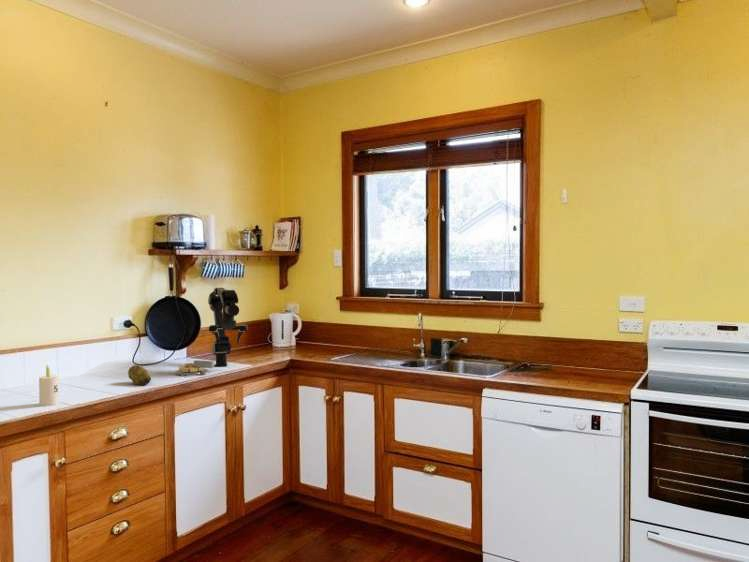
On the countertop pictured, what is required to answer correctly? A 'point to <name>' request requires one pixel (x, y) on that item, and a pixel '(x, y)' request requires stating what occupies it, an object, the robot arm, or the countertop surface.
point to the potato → (139, 375)
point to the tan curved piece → (196, 366)
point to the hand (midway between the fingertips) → (228, 344)
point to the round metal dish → (190, 372)
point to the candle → (48, 389)
